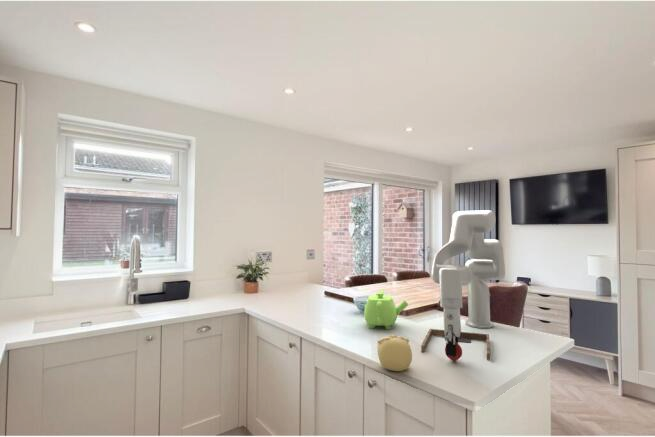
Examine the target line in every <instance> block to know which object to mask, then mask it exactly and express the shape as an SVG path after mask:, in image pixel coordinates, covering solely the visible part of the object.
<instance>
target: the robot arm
mask: <svg viewBox="0 0 655 437" xmlns="http://www.w3.org/2000/svg"><path fill="white" fill-rule="evenodd" d="M451 224H452V225H451V230H450V236H449V241H448V242H447V243H446V244H444V245H443V246H442V247H441V248H440V249H439V250H438V251H437V252H436V253H435V254H434V258H433V262H432V267H431V268H432V269H431V279H432V281H433V282H434V283H436V284H438V285H439V306H440V307H441V308H443V328H444V329H443V330H444V332H445V336H446V337H447V339H446V340H445V341H446V342H445V347H446V354H445V355H447V356H456V344H455V342H457V343H458V344H459V342H458V338H459V337H460V334H461V332H462V328H461V327H462V326H461V323H462V322H461V309H462V308H463V286H467V304H468V305H467V307H468V319H466V320H465V321H464V322H465V325H466V326H469V327H471V328H478V329H491V328H493V327H494V326H495V325H494V322H492V321H491V309H490V308H491V307H490V302H491V301H490V288H489V286H488V284H487V283H486V282H485V280H490V281H491V280H492V281H500V280H501V281H502V280H503V279H504V278H505V275H506V266H505V265H506V264H505V257H504V256H505V255H504V248H503V244H502V242H501V241H500V240H498V239H494V238H493V239H492V238H488V239H487V238H484V234H486V233H490V232H491V231H492V230H493V229H494V228H495V225H496V215H495V213H494V212H493V211H492V210H491V209H490V210H489V209H484V210H459V211H456V212H454V213H453V214H452V223H451ZM463 253H465V254H466V257H468V258H469V259H468V260H467V261H466V262H465V263H464V265H463V264H449V263H447V264H446V263H445V262H446V261H448V260H449V259H451V258H453V257H456V256H458V255H461V254H463ZM444 263H445V264H444ZM446 337H445V338H446ZM447 356H446V357H447Z"/></svg>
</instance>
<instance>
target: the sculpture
mask: <svg viewBox="0 0 655 437" xmlns="http://www.w3.org/2000/svg"><path fill="white" fill-rule="evenodd" d="M409 342H410V339H409V338H407V337H404V336H399V335H396V334H389V335H388V336H386V337H382V338H380V339H379V338H378V340H377V357H378V361H379V363H380V365H381V367H382V368H384V369H386V370H388V371H392V372H402V371H405V370H407V369H409V367H411V364H412V361H413V351H412V349H411V346H410V344H409Z"/></svg>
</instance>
